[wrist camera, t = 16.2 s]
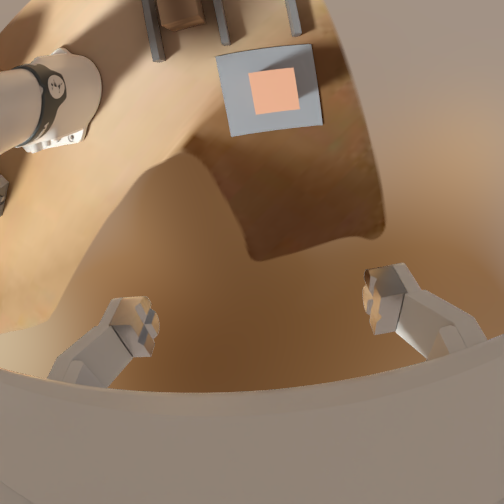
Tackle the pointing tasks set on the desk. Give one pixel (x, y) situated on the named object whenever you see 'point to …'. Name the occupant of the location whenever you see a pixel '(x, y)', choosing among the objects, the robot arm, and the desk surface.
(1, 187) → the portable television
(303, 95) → the slate mat
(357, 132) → the desk surface
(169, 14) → the walnut block
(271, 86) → the terracotta block
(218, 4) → the lane rack
